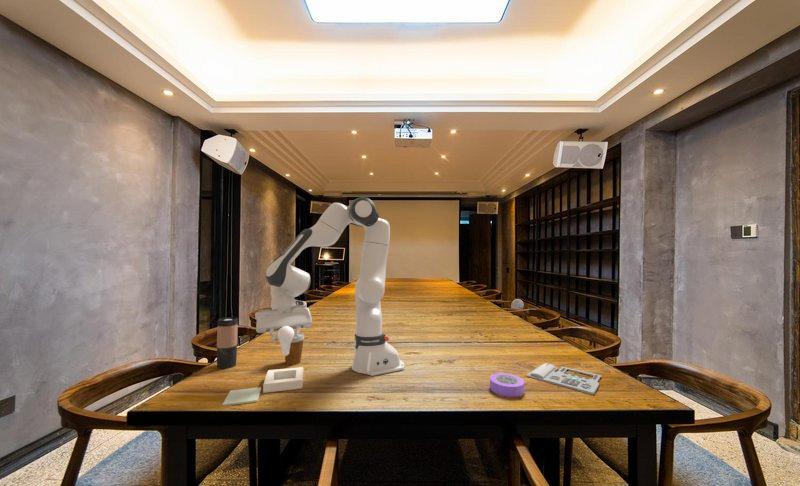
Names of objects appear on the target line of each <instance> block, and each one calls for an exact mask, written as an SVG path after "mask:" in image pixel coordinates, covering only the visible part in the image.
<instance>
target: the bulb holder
mask: <svg viewBox="0 0 800 486" xmlns="http://www.w3.org/2000/svg"><path fill="white" fill-rule="evenodd" d="M303 385H304V367H303V366H300V367H288V368H280V369H279V368H278V369H269V370H267V372H266V375H265V379H264V381H263V389H262V393H263V394H264V393H265V394H266V393H274V392H281V391H291V390H292V391H293V390H301V389H303Z"/></svg>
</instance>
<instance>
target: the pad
mask: <svg viewBox="0 0 800 486" xmlns="http://www.w3.org/2000/svg"><path fill="white" fill-rule="evenodd" d="M262 390H263V389H262V386H259V387H252V388H251V387H250V388H242V389H241V388H240V389H231V390H229V392H228V394H227V395H226V397H225V398H224V401H223V403H222V407H227V406H234V405H242V404H251V403H257V402H258V401H259V398H260V394H261V391H262Z"/></svg>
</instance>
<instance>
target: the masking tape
mask: <svg viewBox="0 0 800 486" xmlns="http://www.w3.org/2000/svg"><path fill="white" fill-rule="evenodd" d="M489 389H490V390H491V392H493V393H494V394H496V395H499V396H502V397H503V396H504V397H507V398H516V397H517V398H518V397H521V396H524V394H525V380H524V379H523V378H521V377H520V376H518V375H515V374H512V373H508V372H507V373H506V372H498V373H497V372H496V373H494V374H491V375H490V377H489Z"/></svg>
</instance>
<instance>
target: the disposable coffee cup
mask: <svg viewBox="0 0 800 486" xmlns="http://www.w3.org/2000/svg"><path fill="white" fill-rule="evenodd" d="M298 335H299V337H298V338H296V339H294V337H293V339H292V341H291V344H290V349H289V354H288V355H287V356H284V360H285V365H289V366H294V365H297V364H300V363H301V361H302V360H301V359H302V354H303V348H304V347H303V345H304V340H305V338H306V337H305V334H304V333H302V332H299V334H298Z"/></svg>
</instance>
